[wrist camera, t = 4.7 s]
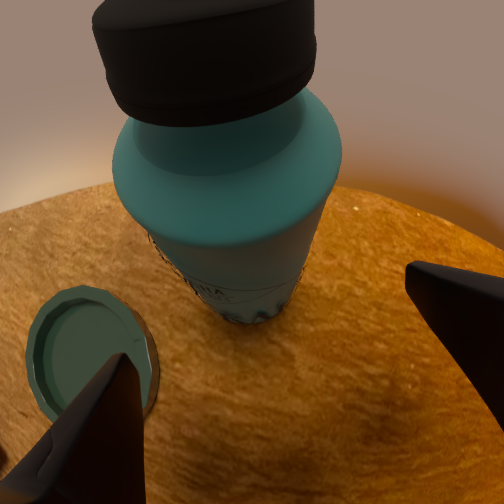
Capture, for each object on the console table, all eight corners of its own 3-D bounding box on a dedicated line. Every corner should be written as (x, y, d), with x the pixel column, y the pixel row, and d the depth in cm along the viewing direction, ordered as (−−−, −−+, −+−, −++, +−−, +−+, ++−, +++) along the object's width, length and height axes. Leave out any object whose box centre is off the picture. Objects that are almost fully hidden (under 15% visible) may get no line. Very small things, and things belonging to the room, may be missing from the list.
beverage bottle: (223, 232, 23) (146, -47, 5) (306, 259, 22) (392, -35, 4) (191, 311, 21) (-42, 96, 3) (279, 343, 20) (411, 129, 2)
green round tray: (191, 394, 19) (184, 396, 18) (81, 457, 17) (69, 461, 15) (113, 264, 23) (102, 256, 21) (22, 336, 21) (10, 333, 19)
